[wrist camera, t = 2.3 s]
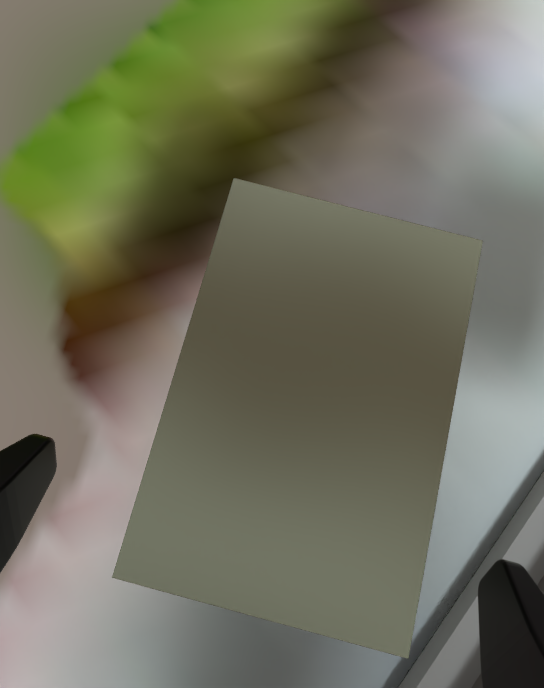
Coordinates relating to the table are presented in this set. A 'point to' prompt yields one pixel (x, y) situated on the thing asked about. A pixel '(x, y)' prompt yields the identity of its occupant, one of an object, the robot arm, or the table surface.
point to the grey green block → (308, 419)
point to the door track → (463, 619)
